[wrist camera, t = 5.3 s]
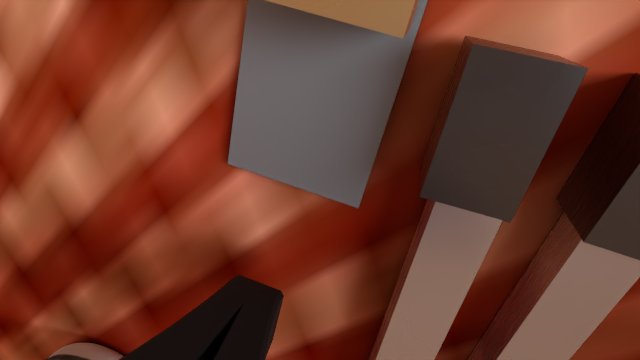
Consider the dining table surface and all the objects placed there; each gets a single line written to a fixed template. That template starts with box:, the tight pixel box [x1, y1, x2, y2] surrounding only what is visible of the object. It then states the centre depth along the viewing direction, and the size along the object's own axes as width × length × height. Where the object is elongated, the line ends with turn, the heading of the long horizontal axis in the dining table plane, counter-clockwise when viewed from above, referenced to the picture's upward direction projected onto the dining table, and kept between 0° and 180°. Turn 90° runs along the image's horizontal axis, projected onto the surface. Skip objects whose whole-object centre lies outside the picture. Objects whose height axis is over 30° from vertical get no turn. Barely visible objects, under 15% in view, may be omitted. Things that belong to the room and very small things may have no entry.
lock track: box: [228, 0, 428, 208], centre depth 8 cm, size 4×8×1 cm, turn 166°
